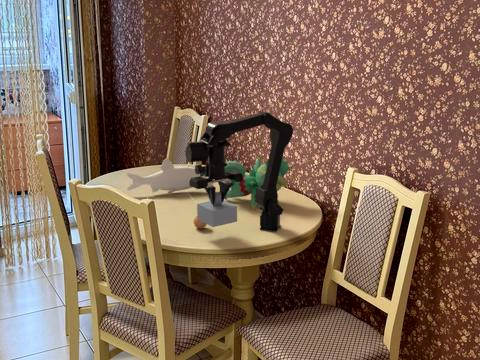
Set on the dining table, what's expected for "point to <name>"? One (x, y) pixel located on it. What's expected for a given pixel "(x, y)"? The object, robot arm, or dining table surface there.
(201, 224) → the ball
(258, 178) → the toy
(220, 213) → the block with rounded knob
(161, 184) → the fish
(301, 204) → the dining table surface
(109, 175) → the dining table surface
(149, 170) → the dining table surface
